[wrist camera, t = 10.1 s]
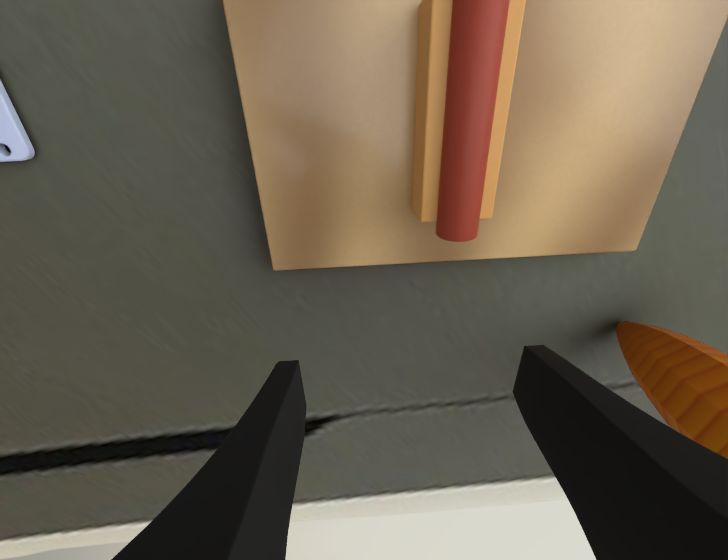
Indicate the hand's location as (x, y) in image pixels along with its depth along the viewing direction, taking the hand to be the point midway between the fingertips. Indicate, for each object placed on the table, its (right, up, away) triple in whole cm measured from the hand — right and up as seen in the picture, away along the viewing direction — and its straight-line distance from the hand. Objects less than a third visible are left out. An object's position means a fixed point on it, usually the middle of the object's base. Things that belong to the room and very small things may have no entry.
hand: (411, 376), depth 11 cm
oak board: (+3, +10, +5) cm, 12 cm away
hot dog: (+2, +10, +4) cm, 11 cm away
